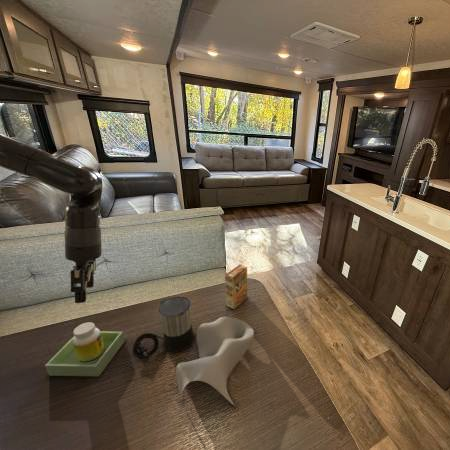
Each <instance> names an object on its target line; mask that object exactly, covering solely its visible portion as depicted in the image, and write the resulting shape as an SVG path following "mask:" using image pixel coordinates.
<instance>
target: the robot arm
mask: <svg viewBox="0 0 450 450" xmlns="http://www.w3.org/2000/svg"><path fill="white" fill-rule="evenodd" d="M0 168H3V169H5V170H8V171H11V172H14V173H16V174H17V173H18V174H20V175H23V176H26V177H28V178H32V179H36V180H38V181H40V182H41V183H43V184H46V185H48V186H49V187H52V188H54V189H56V190H58V191H61V192H63V193H66V194H68V195H69V200H68V203H67V204H66V206H65V210H64V223H65V226H64V255H65V256H64V258H65V259H66V260H68V261H70V262H74V263H75V265H73V266H72V269H71V270H70V272H69V273H70V292H71V293H74V303H75V304H84V303H85V302H86V301H87V289H91V288H93V287H94V285H95V278H94V276H95V274H96V270H97V261H96V260H97V259H99V258H100V257H102V230H101V229H102V227H101V211H100V210H101V209H100V208H101V201H102V195H103V178H102V176H101V174H100V173H99V172H98V170H96V169H95V168H93V167H90V166H85V165H81V166H76V165H73V164H70V163H68V162H65V161H62V160H60V159H58V158H56V157H55V155H53V154H51V153H49V152H47V151H45V150H43V149H40V148H38V147H35V146H33V145H30V144H28V143H25V142H22V141H19V140H17V139H15V138H12V137H10V136H7V135H4V134H2V133H0ZM78 284H80V285H78Z"/></svg>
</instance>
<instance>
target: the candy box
mask: <svg viewBox="0 0 450 450" xmlns="http://www.w3.org/2000/svg"><path fill="white" fill-rule="evenodd" d="M224 278H225V279H224V280H225V282H224V283H225V299H226V300H225V302H226V307H228V308H230V309H233V310H235V309H236V308H237V307H238V306H240V305H241V304H242V303H243V302H244V301H245V300H246V299H248V267H247V266H246V265H242V264H238V265H237V266H235V267H234V268H232V269H231V270H230V271H228V272H226V273H225V274H224Z"/></svg>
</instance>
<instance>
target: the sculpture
mask: <svg viewBox="0 0 450 450" xmlns="http://www.w3.org/2000/svg"><path fill="white" fill-rule="evenodd" d="M254 334H255V331H254V328H252V327H251V325H249V324H248V323H247V322H245V321H243V320H241V319H237V318H233V317H230V316H221V317H218V318H217V319H216V320H215V321H211V322H205V323H202V324H200V325H199V326H198V328H197V330H196V344H197V350H198V356H199V357H198V358H197V359H194V360H190V361H182V362H179V363H178V364H177V365H176V367H175V378H176V384H177V388H178V394H179V397H180V399H181V401H183V392H184V389H185V388H186V386H187V385H188V384H189V383H191V382H197V381H199V382H204V383H206V384H208V385H210V386H211V387H212V388H213V389H215V390H216V391H217V392H219V393H220V394H221V395H222V397H224V398H225V400H227V401H228V402H229V403H230V404H231V405H233V406H234V407H236V405H235V403H234V401H233V400H232V399H231V397H230V394H229V392H228V387H227V382H228V378H229V376H230V374H231V373H232V371H233V370H234V368H235V367H236V366H237V365H238V363H239V362H240V360H241V359H242V358H243V356H244V354H245V353H246V352H247V350H248V348H249V347H250V345H251V343H252V340H253V338H254Z"/></svg>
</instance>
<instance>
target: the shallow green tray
mask: <svg viewBox="0 0 450 450" xmlns="http://www.w3.org/2000/svg"><path fill="white" fill-rule="evenodd" d="M100 332H101V336H102V339H103V343H104V346H105V353H104V354H103V355H102V356H101V358H100V359H99V360H97V361H95V362H93V363H90V364H82V363H81V362H80V361H79V358H78V355H77V353H76V350H75V347H74V344H73V338H74V336H73V337H71V338H70V339H69V341H67V342H66V343H65V344H64V346H62V347H61V348H60V350H59V351H57V352H56V354H55V355H54V356H52V358H50V360H48V361H47V363H46V364H44V368H45V370H46V372H47V374H48V376H49V377H52V376H53V377H54V376H55V377H100V376H101V374H102V373H103V372H104V370H105V369H106V368H107V366H108V365H109V363H110V362H111V361H112V360H113V358H114V357H115V355H116V354H117V353H118V351H119V350H120V348H121V347H122V346H123V344H124V343H125V342H126V340H125V335H124V331H111V330H110V331H108V330H107V331H105V330H103V331H102V330H100Z"/></svg>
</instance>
